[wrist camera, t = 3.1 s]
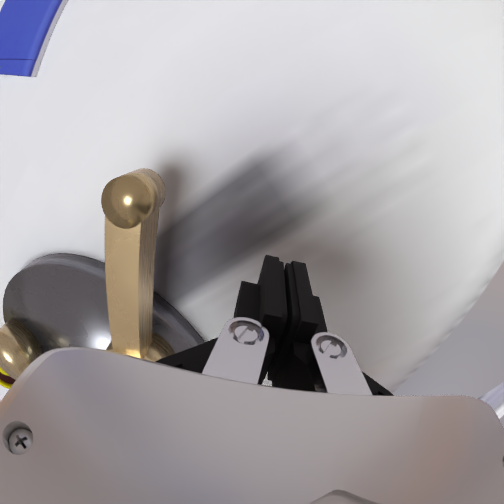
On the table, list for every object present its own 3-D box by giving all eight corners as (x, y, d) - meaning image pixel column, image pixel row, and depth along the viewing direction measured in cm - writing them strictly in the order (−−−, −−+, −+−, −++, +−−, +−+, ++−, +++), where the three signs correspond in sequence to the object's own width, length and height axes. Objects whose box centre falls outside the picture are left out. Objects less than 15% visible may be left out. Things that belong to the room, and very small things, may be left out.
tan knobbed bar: (175, 382, 18) (163, 421, 14) (117, 364, 17) (98, 399, 14) (199, 174, 12) (175, 191, 9) (111, 160, 12) (68, 173, 9)
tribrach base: (207, 446, 26) (200, 487, 21) (45, 388, 25) (26, 418, 20) (245, 297, 17) (236, 362, 12) (-3, 228, 16) (-46, 256, 11)
